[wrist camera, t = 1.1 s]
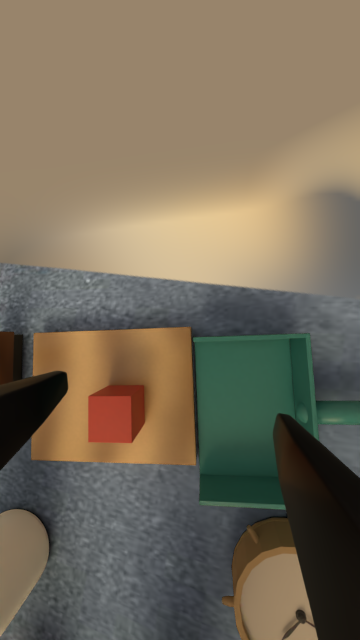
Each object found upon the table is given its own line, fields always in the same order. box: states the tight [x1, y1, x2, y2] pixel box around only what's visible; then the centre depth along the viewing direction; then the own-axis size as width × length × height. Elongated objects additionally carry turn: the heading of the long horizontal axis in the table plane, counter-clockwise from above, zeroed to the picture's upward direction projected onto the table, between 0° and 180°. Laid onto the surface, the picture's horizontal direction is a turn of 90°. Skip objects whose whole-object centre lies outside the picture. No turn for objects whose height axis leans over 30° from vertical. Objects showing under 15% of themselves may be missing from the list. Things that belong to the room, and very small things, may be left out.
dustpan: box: [193, 333, 360, 510], centre depth 20 cm, size 17×15×4 cm
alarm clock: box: [222, 518, 318, 640], centre depth 18 cm, size 11×5×15 cm
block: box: [88, 385, 145, 443], centre depth 20 cm, size 4×4×4 cm
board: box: [31, 327, 197, 465], centre depth 23 cm, size 18×14×2 cm
